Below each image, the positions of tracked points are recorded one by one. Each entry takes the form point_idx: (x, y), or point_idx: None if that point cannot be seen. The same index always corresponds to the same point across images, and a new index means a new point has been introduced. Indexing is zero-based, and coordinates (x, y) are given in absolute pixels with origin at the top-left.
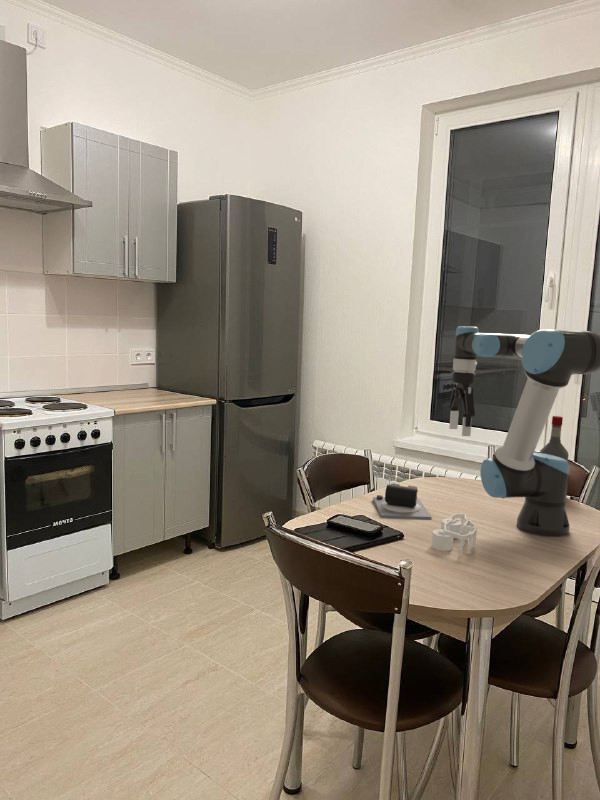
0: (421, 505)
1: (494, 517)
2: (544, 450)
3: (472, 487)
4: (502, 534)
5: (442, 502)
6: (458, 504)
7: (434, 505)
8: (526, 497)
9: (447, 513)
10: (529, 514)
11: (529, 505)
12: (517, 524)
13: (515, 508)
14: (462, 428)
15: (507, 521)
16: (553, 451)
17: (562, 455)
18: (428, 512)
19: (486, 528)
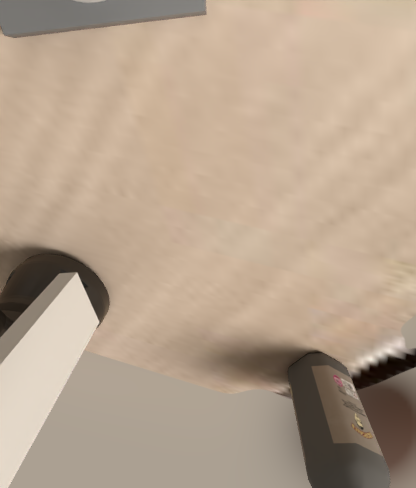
0: (119, 10)
1: (127, 228)
2: (345, 474)
3: (393, 240)
4: (12, 214)
5: (227, 114)
6: (215, 163)
7: (188, 78)
8: (6, 308)
9: (117, 110)
10: (6, 286)
11: (2, 299)
12: (49, 256)
13: (209, 288)
14: (32, 319)
15: (108, 247)
16: (325, 483)
17: (311, 482)
18: (47, 29)
19: (35, 190)
